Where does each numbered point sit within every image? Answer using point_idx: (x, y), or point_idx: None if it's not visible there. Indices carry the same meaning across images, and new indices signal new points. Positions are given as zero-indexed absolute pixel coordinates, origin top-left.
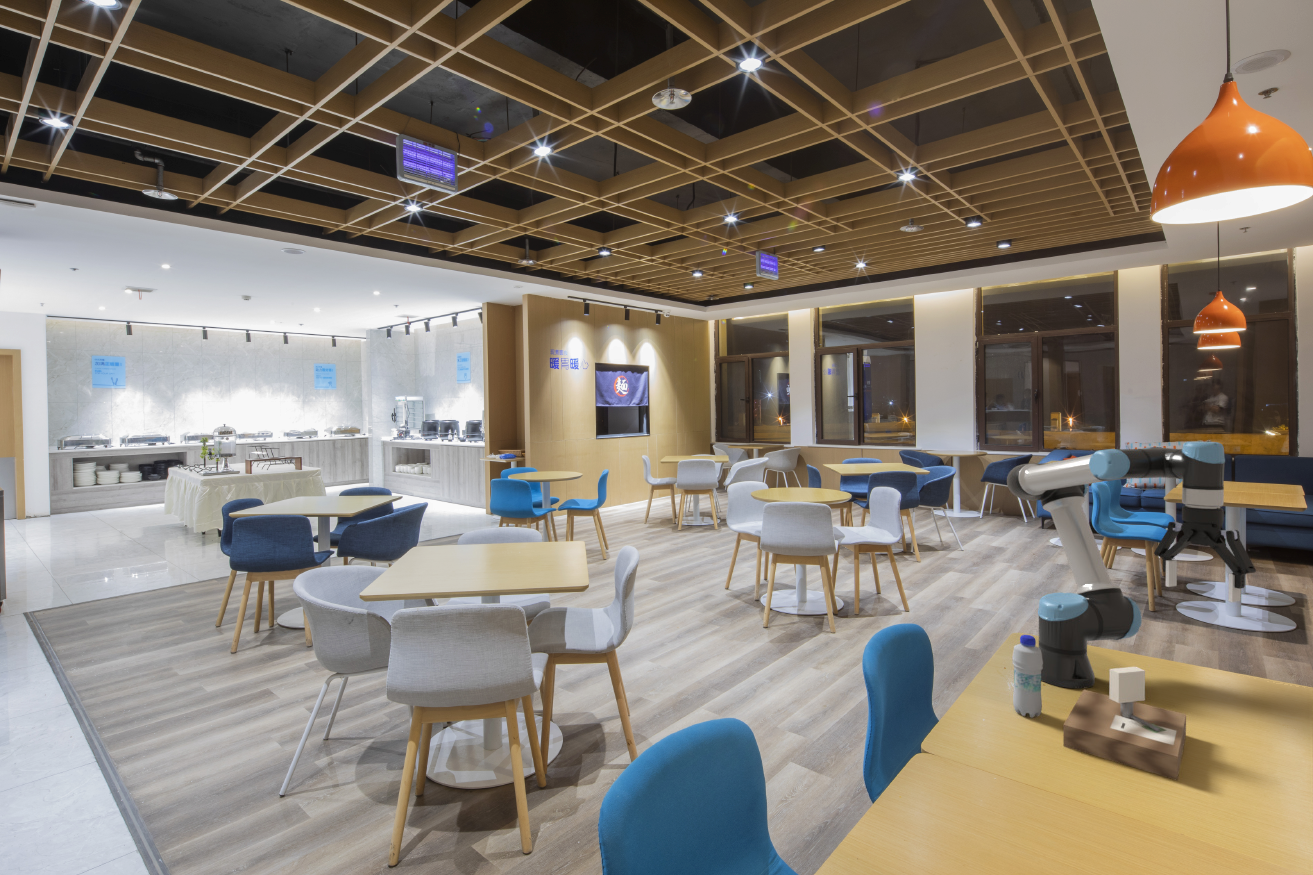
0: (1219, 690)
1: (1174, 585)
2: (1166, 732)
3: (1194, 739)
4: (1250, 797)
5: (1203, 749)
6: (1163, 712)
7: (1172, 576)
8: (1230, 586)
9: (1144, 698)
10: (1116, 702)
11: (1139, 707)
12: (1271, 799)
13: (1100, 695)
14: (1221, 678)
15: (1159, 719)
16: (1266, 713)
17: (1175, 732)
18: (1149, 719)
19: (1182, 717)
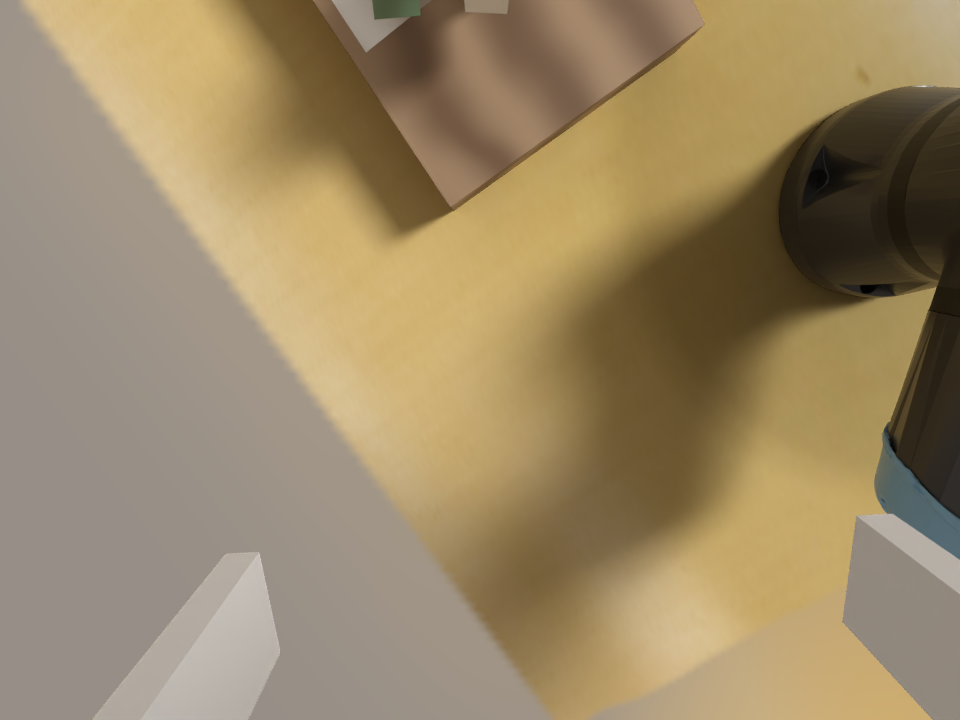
0: (624, 560)
1: (851, 600)
2: (363, 3)
3: (430, 210)
4: (165, 42)
5: (381, 177)
6: (478, 145)
7: (957, 664)
8: (129, 703)
9: (465, 8)
10: (582, 49)
11: (528, 96)
12: (153, 89)
13: (644, 42)
14: (674, 634)
15: (442, 77)
16: (493, 535)
17: (357, 35)
18: (450, 40)
19: (436, 172)
